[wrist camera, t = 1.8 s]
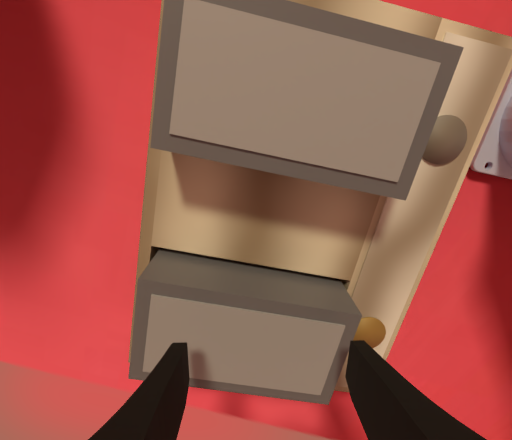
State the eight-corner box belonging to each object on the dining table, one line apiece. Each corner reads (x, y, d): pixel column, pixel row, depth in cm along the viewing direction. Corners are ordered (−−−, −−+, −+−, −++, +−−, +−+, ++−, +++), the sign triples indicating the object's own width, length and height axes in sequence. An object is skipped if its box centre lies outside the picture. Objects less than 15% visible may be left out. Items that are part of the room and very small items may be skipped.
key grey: (411, 67, 14) (465, 46, 10) (371, 185, 16) (407, 201, 12) (187, 10, 13) (166, -34, 9) (172, 143, 15) (149, 148, 11)
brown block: (340, 279, 17) (363, 316, 14) (314, 356, 19) (329, 406, 16) (160, 248, 16) (137, 279, 13) (150, 332, 18) (127, 379, 15)
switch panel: (461, 60, 17) (528, 39, 13) (350, 351, 23) (371, 398, 19) (186, -12, 15) (165, -62, 11) (149, 321, 22) (127, 364, 18)
